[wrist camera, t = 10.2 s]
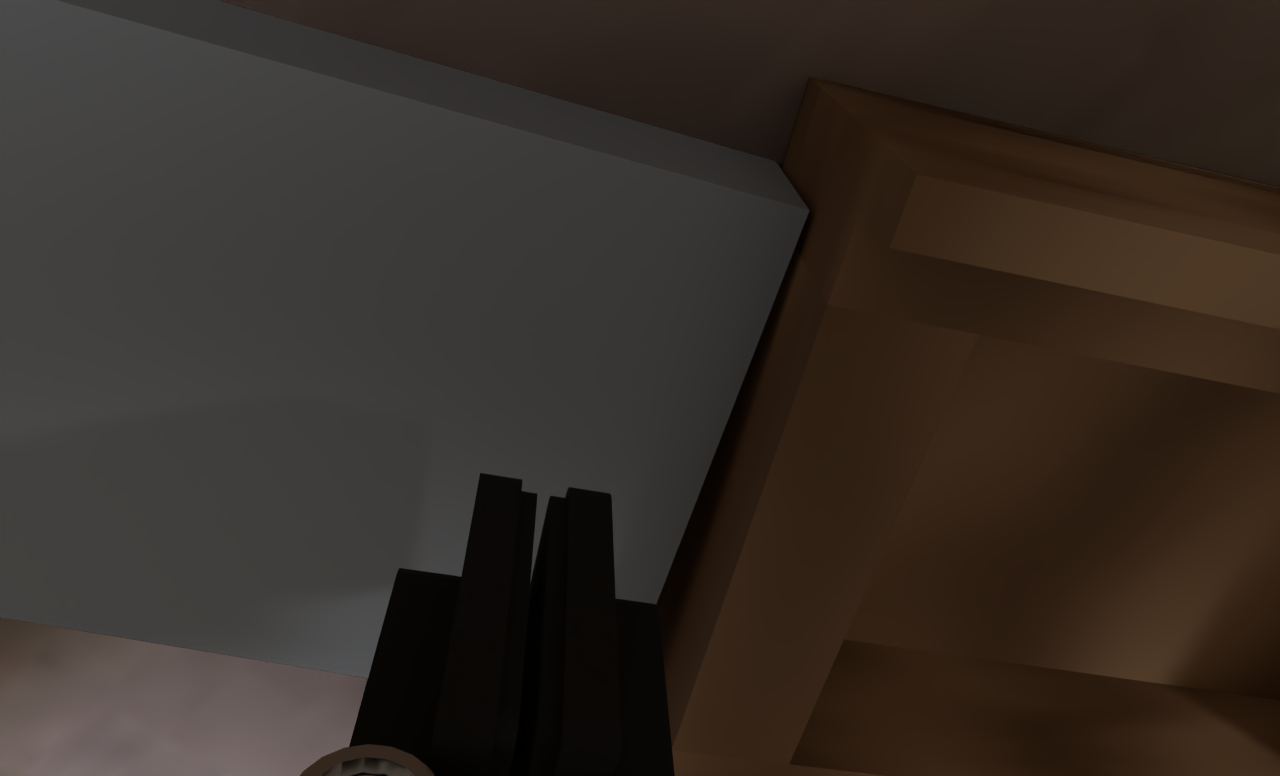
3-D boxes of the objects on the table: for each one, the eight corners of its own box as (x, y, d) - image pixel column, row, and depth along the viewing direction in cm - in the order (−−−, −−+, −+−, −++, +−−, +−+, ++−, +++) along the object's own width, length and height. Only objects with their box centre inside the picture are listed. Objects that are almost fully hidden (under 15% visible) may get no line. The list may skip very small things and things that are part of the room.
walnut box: (1671, 279, 16) (2090, 435, 12) (1297, 746, 22) (1484, 975, 17) (809, 76, 14) (916, 173, 9) (633, 658, 19) (647, 897, 15)
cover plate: (769, 152, 15) (809, 211, 12) (607, 604, 19) (611, 718, 17) (-203, -128, 13) (-412, -130, 10) (-138, 464, 17) (-271, 573, 14)
